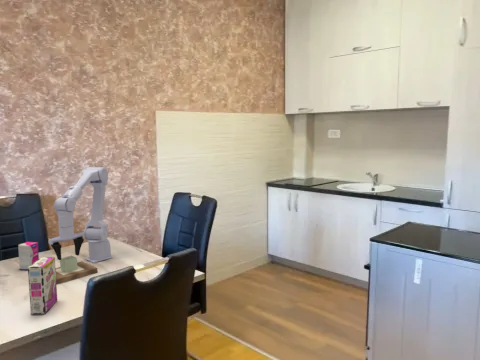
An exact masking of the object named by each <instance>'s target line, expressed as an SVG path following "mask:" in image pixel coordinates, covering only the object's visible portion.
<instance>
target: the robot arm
mask: <svg viewBox="0 0 480 360" xmlns="http://www.w3.org/2000/svg"><path fill="white" fill-rule="evenodd" d="M83 168H84V169H82V170H81V177H79V179H78V181H77V182H76V183H75V185H71V186H69V187H68V189H67V190H66V191H65V193H64V194H63V195H62V196H61V197H58V198H56V199H55V201H54V204H53V209H54V210H55V212H56V214H55V215H56V216H57V220H58V221H57V222H58V234H59V235H58V236H56V237H53V238H49V239H48V244H49V245H50V246H51V247H52V249H53V251H54V253H55V255H56V258H57V260H59V261H60V260H61V258H62V244H61V243H64V242H67V241H72V240H73V244H74V254H75V255H76V256H77V257H78V256H80V251H81V248H82V245H83V243H84V242H85V241H86V243H87V244H88V257H86V258H85V260H86V261H89V262H91V263H98V262H101V261H106V260H110V259H112V258H113V257H112V250H111V249H112V247H111V243H110V240H109V239H108V236H109V231H108V224H107V223H106V222H104V221H103V219H104V209H105V207H104V206H105V197H106V186H107V185H108V180H109V178H108V177H109V171H108V170H107V168H106V167H104V166H97V167H96V166H91V167H90V166H84V167H83ZM88 185H91V186H92V187H93V193H92V194H93V195H92V204H91V215H90V220H89V221H88V222H86V224H85V228H84V230H83V232H82V231H81V232H75V227H74V226H75V225H74V210H75V208H76V206H77V201H78V200H79V199H80V198H81V197H82V195H83V190H84V189H85V188H86V187H87V186H88Z"/></svg>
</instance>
